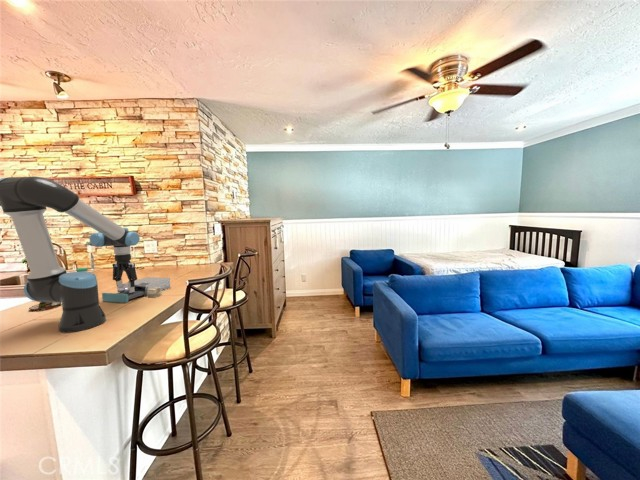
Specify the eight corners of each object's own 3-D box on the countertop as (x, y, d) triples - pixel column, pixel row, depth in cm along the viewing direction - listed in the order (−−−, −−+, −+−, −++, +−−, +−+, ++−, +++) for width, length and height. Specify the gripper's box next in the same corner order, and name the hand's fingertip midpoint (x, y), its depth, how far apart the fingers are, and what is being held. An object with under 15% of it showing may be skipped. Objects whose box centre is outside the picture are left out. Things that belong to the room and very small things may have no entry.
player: (146, 296, 149) (145, 285, 149) (122, 295, 153) (121, 283, 152) (170, 288, 167) (169, 277, 166) (148, 287, 171) (147, 277, 170)
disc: (137, 288, 149) (137, 285, 149) (124, 292, 141) (124, 289, 141) (127, 287, 151) (126, 285, 150) (113, 291, 143) (113, 288, 143)
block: (155, 297, 146) (154, 289, 146) (148, 297, 147) (147, 289, 147) (162, 295, 151) (161, 287, 151) (155, 294, 152) (154, 287, 152)
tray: (126, 302, 138) (125, 294, 137) (102, 301, 141) (101, 293, 141) (152, 293, 154) (151, 286, 153) (130, 292, 157) (129, 285, 157)
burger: (54, 303, 141) (52, 290, 140) (67, 305, 137) (65, 292, 136) (23, 311, 129) (21, 297, 129) (37, 313, 126) (35, 299, 125)
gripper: (143, 253, 145) (146, 290, 147) (115, 252, 150) (118, 289, 152) (130, 255, 138) (134, 294, 140) (101, 254, 142) (105, 293, 144)
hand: (126, 291), depth 146 cm, fingers closed on disc, 8 cm apart
